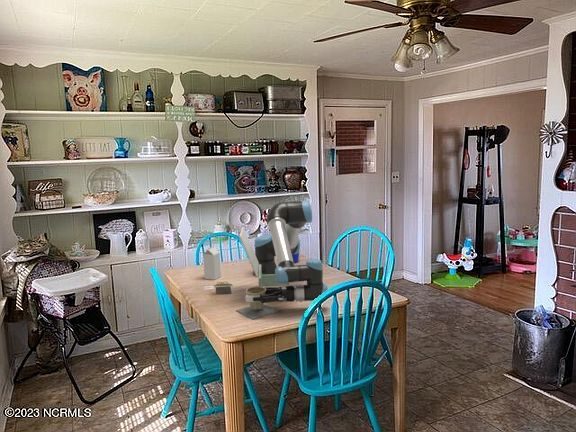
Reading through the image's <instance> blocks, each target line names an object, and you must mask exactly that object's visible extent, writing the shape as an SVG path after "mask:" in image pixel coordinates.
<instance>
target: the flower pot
mask: <svg viewBox="0 0 576 432" xmlns="http://www.w3.org/2000/svg"><path fill="white" fill-rule="evenodd" d="M264 287H265V286H262V287H259V286H251V287H247V289H245V293H246V292H247V294H246V296H252V295H260V294H261V295H262V296H263V295H265V291H266V288H264ZM248 303H249V306H250V308H251V309H254V310H256V309H262V308H263V305H265V303H262V302H260V301H257V302H248Z"/></svg>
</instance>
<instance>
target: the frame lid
mask: <svg viewBox="0 0 576 432" xmlns="http://www.w3.org/2000/svg"><path fill="white" fill-rule="evenodd" d="M239 240H240V242H241V245H242V246H243V250H244V251H245V253H246V256H247V258H248V261H249V264H250V265H251V268H252V271H253V270H254V273H255V275H256V276H255V275H254V276H255V277H256V278H258V277H259V276H258V266H259V262H258V260H257V258H256V255H255V250H254V249H253V246H252V244H251V242H250V239H249V237H248V234H247V231H246V230H245V227H244V226H241V230H240V233H239Z"/></svg>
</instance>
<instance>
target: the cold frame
mask: <svg viewBox="0 0 576 432" xmlns="http://www.w3.org/2000/svg"><path fill="white" fill-rule="evenodd" d="M257 278H258V287H269V286H270V287H271V286H290V282H289V283H278V282H277V281H276V278H275V274H269V275H262V270H261V264H259V276H258V277H257ZM282 289H286V287H282ZM265 295H266V294H265ZM283 301H286V298H285V299H283ZM283 301H282V302H283Z"/></svg>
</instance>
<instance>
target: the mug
mask: <svg viewBox="0 0 576 432" xmlns="http://www.w3.org/2000/svg"><path fill="white" fill-rule="evenodd" d="M292 258H293V262H294V264H295V263H298V262H299V259H300V251H299V252H298V253H297V254H294V255H292Z"/></svg>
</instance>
